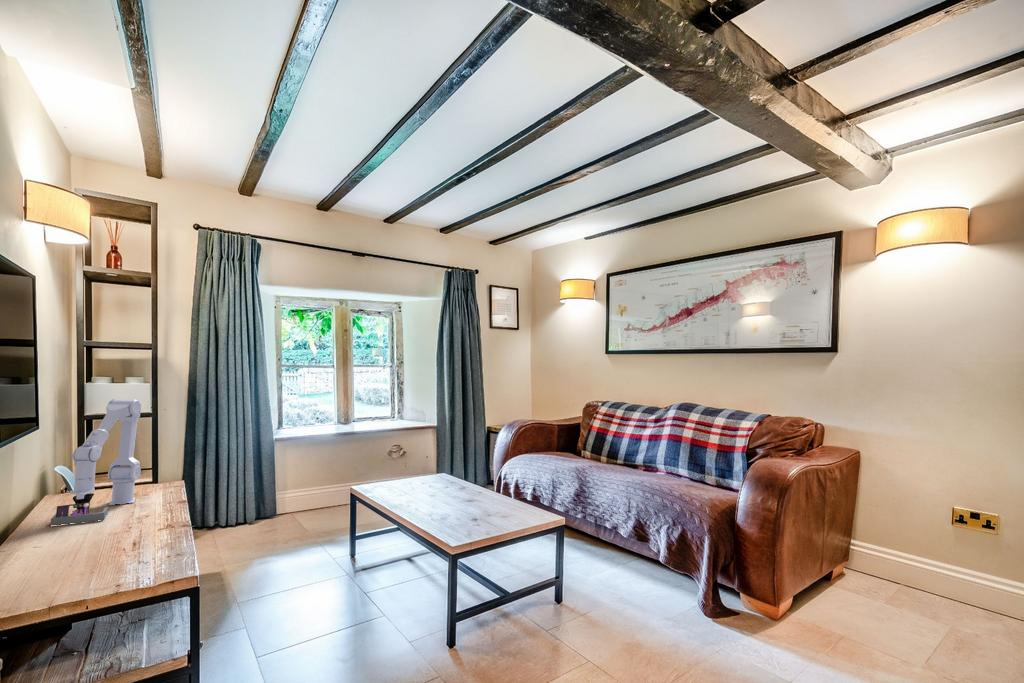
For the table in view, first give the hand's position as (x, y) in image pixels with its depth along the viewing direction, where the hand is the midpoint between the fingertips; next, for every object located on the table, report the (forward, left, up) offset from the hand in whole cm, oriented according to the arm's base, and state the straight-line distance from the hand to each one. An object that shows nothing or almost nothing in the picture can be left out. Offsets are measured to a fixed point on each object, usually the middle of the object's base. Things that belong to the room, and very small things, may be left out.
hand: (82, 514), depth 178 cm
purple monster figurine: (+3, -2, -2) cm, 4 cm away
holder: (+3, 0, -1) cm, 3 cm away
